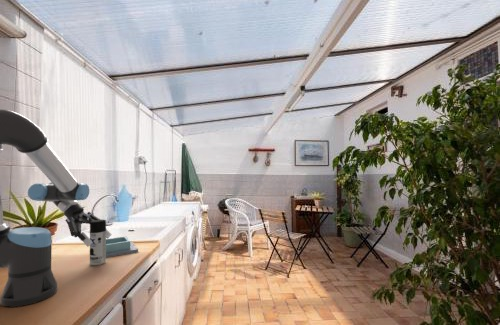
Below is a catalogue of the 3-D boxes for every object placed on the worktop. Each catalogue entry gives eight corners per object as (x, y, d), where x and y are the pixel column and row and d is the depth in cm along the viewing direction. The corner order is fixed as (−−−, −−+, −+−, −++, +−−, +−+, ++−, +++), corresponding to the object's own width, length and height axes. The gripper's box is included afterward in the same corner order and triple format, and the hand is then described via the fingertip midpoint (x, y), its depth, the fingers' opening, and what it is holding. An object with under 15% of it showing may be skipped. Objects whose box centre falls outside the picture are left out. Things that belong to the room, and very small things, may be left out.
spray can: (86, 264, 123) (86, 221, 123) (100, 260, 129) (100, 218, 129) (95, 266, 120) (95, 222, 120) (109, 262, 126) (109, 219, 126)
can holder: (94, 259, 129) (94, 248, 130) (92, 249, 146) (92, 239, 146) (138, 251, 141) (138, 241, 141) (131, 243, 157) (131, 234, 157)
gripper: (85, 209, 140) (111, 238, 138) (43, 218, 115) (75, 254, 113) (94, 199, 139) (121, 228, 137) (54, 206, 114) (86, 242, 112)
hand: (100, 240), depth 125 cm, fingers open, 13 cm apart
